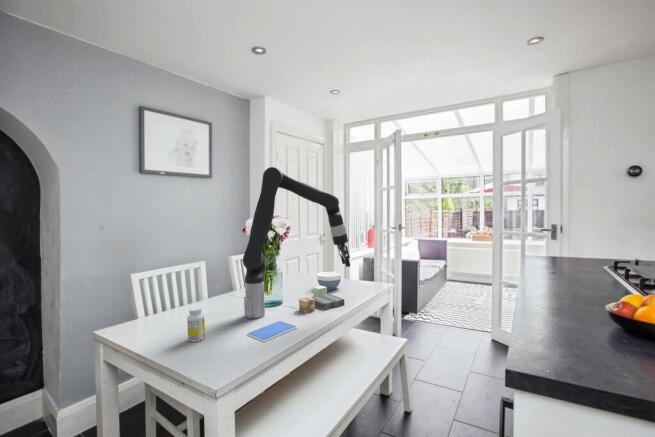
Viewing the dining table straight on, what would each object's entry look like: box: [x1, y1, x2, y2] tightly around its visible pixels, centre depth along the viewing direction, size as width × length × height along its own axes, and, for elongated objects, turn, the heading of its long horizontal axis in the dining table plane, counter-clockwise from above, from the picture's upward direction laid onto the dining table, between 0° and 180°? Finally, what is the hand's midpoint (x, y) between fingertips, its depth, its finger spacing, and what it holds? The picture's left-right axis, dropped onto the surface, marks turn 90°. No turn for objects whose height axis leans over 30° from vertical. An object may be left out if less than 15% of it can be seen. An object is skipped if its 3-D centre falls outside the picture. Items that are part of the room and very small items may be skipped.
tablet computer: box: [246, 320, 298, 343], centre depth 142 cm, size 19×13×1 cm, turn 140°
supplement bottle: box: [186, 306, 206, 343], centre depth 135 cm, size 7×7×13 cm
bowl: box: [316, 271, 342, 291], centre depth 213 cm, size 16×16×10 cm
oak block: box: [298, 296, 316, 314], centre depth 169 cm, size 6×6×6 cm
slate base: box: [312, 293, 345, 310], centre depth 179 cm, size 14×14×3 cm
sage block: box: [312, 285, 328, 298], centre depth 193 cm, size 6×6×6 cm
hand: (346, 265), depth 163 cm, fingers open, 8 cm apart
